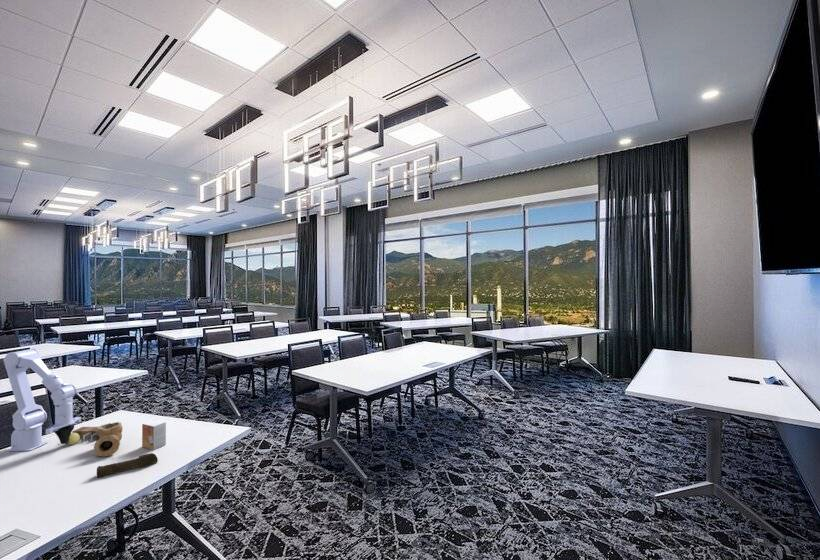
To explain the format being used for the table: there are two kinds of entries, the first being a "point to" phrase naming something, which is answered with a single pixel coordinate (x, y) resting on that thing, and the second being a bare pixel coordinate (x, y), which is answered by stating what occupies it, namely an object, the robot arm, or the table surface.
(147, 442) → the small box
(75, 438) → the knob
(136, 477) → the table surface
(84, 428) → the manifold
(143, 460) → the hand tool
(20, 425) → the robot arm
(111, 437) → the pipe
